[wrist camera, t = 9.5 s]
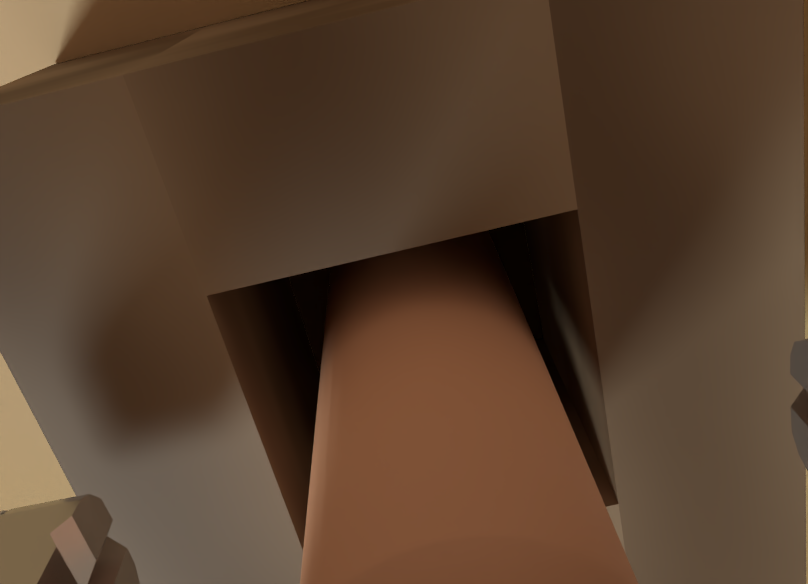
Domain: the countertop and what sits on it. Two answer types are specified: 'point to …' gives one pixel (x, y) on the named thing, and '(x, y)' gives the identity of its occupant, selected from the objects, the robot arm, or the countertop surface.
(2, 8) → the countertop surface
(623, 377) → the socket block
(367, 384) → the dowel
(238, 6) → the countertop surface
